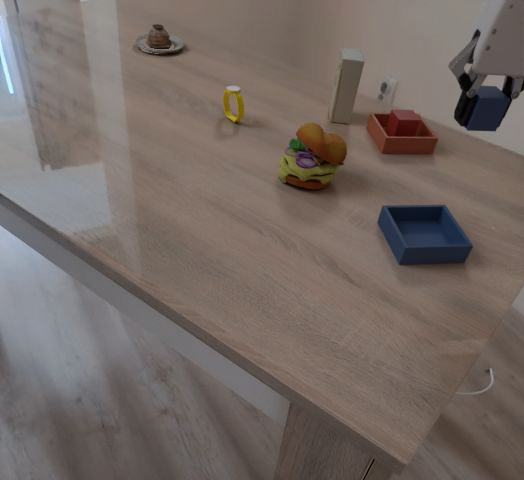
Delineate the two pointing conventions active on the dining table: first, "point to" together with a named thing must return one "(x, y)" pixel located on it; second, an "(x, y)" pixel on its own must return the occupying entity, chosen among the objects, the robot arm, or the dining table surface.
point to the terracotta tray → (391, 144)
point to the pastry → (160, 40)
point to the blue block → (487, 109)
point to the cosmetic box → (346, 85)
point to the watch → (240, 105)
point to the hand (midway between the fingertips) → (476, 121)
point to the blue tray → (423, 234)
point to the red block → (402, 123)
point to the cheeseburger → (312, 157)
